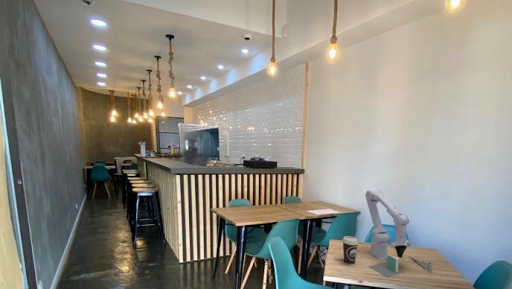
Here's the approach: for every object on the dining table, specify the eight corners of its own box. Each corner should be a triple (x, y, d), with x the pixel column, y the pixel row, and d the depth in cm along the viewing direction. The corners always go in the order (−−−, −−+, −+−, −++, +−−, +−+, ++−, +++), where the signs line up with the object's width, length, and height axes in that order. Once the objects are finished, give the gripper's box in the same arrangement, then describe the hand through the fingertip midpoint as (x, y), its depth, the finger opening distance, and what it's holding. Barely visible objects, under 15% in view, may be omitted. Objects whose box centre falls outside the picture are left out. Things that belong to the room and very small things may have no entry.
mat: (368, 267, 147) (368, 266, 147) (385, 262, 154) (385, 261, 154) (387, 278, 136) (387, 277, 136) (405, 272, 142) (405, 272, 142)
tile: (386, 267, 147) (387, 254, 147) (388, 266, 148) (389, 253, 148) (395, 272, 142) (396, 258, 141) (398, 271, 142) (398, 258, 142)
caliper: (432, 273, 143) (432, 263, 143) (430, 273, 143) (430, 263, 143) (409, 257, 163) (410, 248, 163) (408, 257, 163) (408, 248, 163)
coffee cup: (357, 260, 155) (358, 237, 155) (357, 267, 147) (358, 242, 147) (342, 257, 159) (342, 234, 159) (340, 263, 151) (341, 239, 151)
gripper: (399, 239, 141) (398, 262, 141) (414, 235, 147) (413, 257, 147) (387, 234, 147) (387, 256, 147) (403, 231, 153) (402, 252, 153)
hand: (399, 256), depth 147 cm, fingers closed
